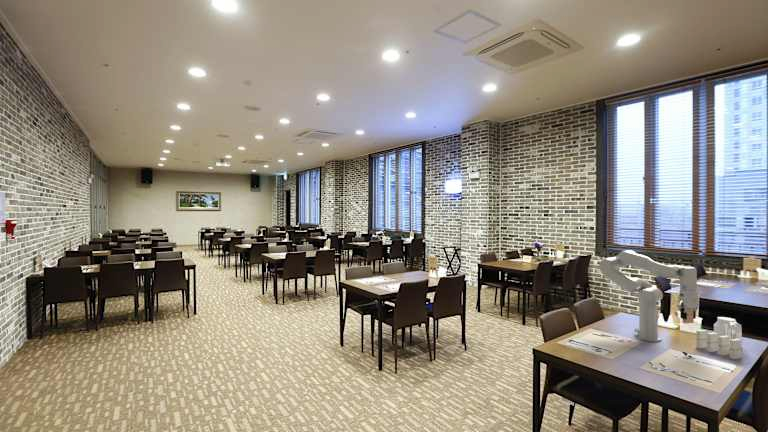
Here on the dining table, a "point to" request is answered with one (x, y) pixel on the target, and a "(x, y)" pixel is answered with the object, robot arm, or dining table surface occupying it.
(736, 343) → the domino
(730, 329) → the beer glass
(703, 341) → the domino
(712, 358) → the dining table surface
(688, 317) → the domino
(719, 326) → the jar
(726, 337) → the domino
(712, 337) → the domino
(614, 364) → the dining table surface
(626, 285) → the robot arm
